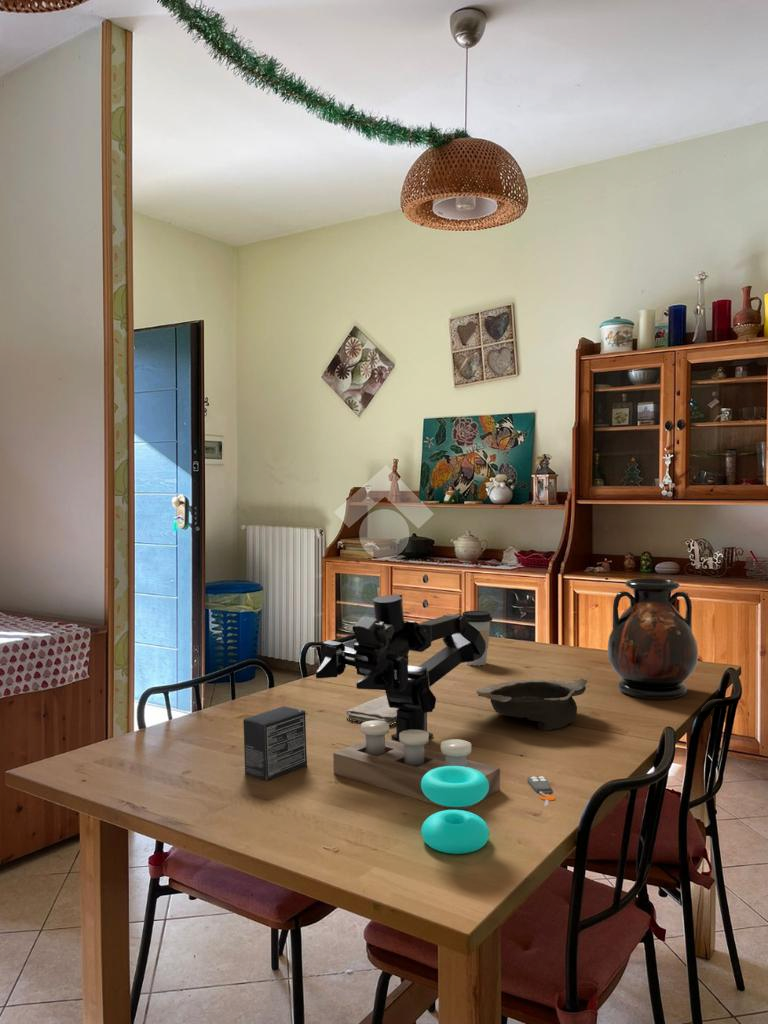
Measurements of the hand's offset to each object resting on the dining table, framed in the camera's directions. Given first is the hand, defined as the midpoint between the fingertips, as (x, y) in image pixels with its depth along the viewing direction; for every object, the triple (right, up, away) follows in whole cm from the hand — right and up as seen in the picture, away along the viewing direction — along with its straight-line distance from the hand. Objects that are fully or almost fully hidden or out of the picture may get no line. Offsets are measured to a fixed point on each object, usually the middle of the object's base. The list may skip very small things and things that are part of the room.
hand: (336, 680), depth 143 cm
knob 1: (+7, -14, +3) cm, 16 cm away
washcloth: (+9, -17, +39) cm, 43 cm away
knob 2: (+21, -14, -8) cm, 27 cm away
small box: (-11, -18, +4) cm, 22 cm away
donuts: (+19, -18, -26) cm, 37 cm away
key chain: (+36, -18, -9) cm, 41 cm away
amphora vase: (+76, -15, +55) cm, 95 cm away
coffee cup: (+36, -14, +88) cm, 96 cm away
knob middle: (+14, -14, -3) cm, 20 cm away
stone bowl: (+42, -16, +34) cm, 56 cm away
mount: (+14, -17, -2) cm, 22 cm away
